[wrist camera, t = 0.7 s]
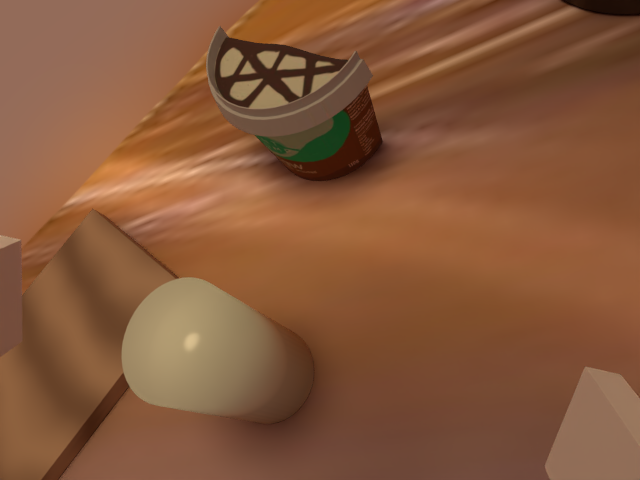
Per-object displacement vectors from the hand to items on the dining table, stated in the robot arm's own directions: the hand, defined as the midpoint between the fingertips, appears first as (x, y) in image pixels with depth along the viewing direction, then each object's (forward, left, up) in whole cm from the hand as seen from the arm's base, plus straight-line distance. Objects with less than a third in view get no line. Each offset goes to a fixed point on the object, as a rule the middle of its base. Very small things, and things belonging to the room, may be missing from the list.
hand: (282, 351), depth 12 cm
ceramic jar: (+4, -10, -21) cm, 24 cm away
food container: (-11, -18, -21) cm, 30 cm away
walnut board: (+14, -26, -21) cm, 36 cm away
